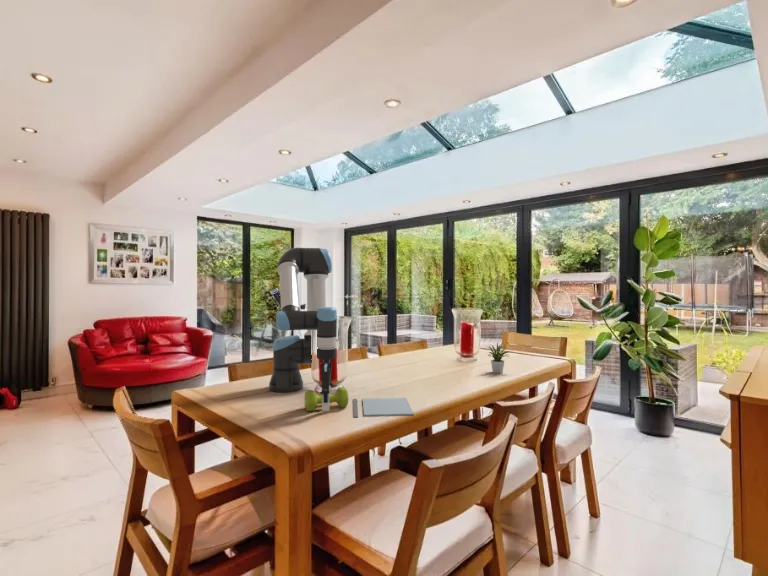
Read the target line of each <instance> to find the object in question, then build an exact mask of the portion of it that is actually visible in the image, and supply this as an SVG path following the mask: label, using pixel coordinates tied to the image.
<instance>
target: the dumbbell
mask: <svg viewBox="0 0 768 576" xmlns="http://www.w3.org/2000/svg"><path fill="white" fill-rule="evenodd" d="M303 397H304V398H303V400H304V401H303V402H304V407H305V409H306V411H308V412H314V411H315V410H316V409H317V405H319V404H321V405H322V394H320V395H318V394H317V393H316V392H315V390H312V389H309V390H306V391H305V392H304V396H303ZM349 399H350V398H349V392H348V389H347V388H345V387H344V386H339V387H337V390H336V391H335V393H333V394H332V393H331V394H330V397H329V404H331V403H336V404H337V405H338V407H339V408H346V407H347V406H348V404H349V401H350V400H349Z"/></svg>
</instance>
